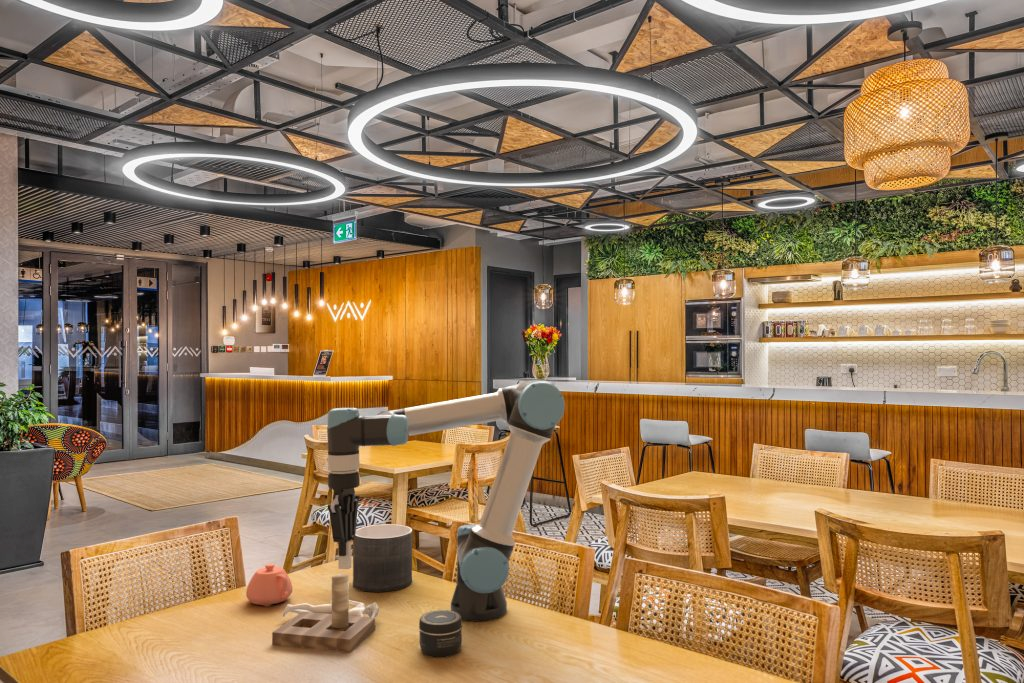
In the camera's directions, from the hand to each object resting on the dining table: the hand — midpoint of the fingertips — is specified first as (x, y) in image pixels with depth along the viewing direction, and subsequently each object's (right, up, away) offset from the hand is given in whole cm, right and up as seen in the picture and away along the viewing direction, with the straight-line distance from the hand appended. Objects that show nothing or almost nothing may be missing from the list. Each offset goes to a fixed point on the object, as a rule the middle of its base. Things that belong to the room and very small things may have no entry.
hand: (344, 568), depth 170 cm
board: (-5, -17, 0) cm, 17 cm away
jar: (+24, -17, -8) cm, 31 cm away
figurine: (-6, -18, +10) cm, 21 cm away
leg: (-1, -17, -1) cm, 17 cm away
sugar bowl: (-27, -18, +25) cm, 41 cm away
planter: (+1, -18, +41) cm, 45 cm away
